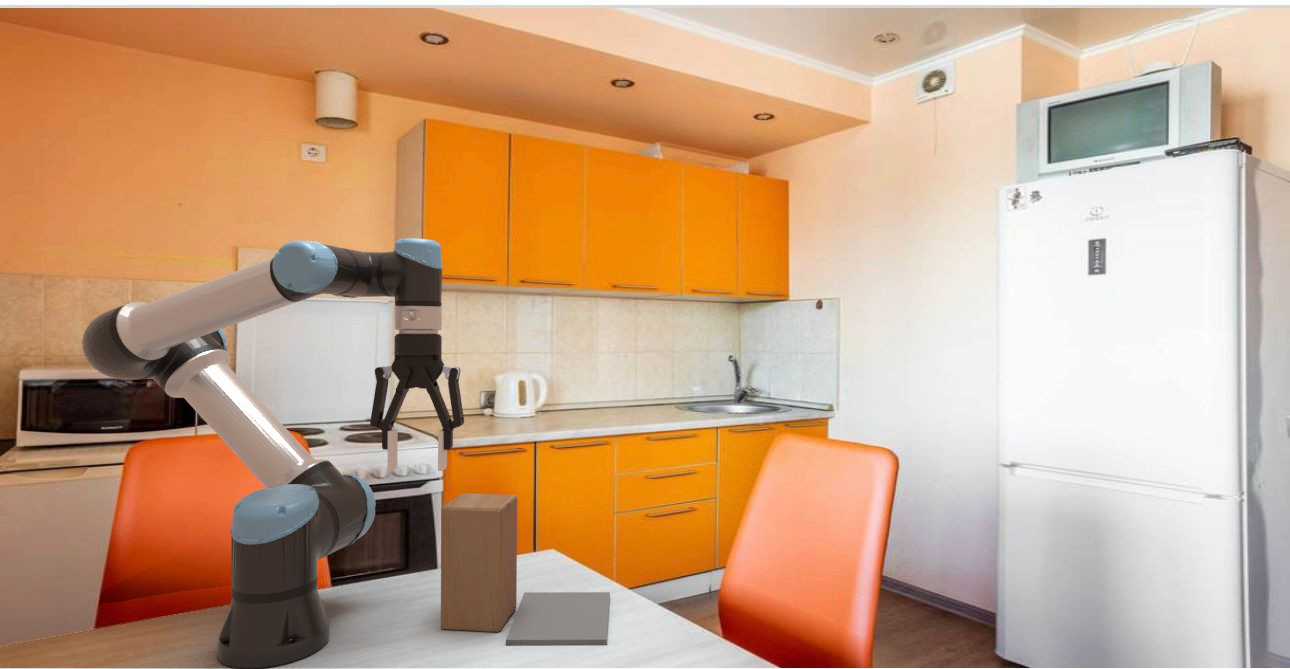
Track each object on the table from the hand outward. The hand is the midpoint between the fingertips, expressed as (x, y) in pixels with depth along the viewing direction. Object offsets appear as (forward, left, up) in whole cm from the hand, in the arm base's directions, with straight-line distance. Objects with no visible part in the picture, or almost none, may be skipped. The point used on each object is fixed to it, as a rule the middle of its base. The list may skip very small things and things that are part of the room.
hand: (417, 469), depth 120 cm
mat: (+24, 0, -25) cm, 35 cm away
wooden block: (+11, 0, -25) cm, 27 cm away
